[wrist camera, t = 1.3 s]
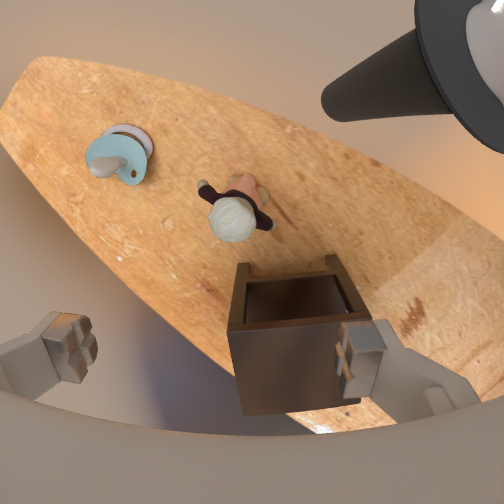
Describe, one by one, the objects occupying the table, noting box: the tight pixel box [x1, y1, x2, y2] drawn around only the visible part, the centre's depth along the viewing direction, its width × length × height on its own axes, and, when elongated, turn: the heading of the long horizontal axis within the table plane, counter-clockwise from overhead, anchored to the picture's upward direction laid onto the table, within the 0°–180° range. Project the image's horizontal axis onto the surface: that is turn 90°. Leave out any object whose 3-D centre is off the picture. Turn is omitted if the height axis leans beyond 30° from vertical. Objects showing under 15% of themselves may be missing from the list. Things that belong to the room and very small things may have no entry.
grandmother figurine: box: [197, 173, 277, 242], centre depth 26 cm, size 8×4×13 cm, turn 71°
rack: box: [227, 254, 372, 416], centre depth 30 cm, size 11×10×13 cm
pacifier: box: [85, 124, 153, 185], centre depth 28 cm, size 7×6×6 cm
